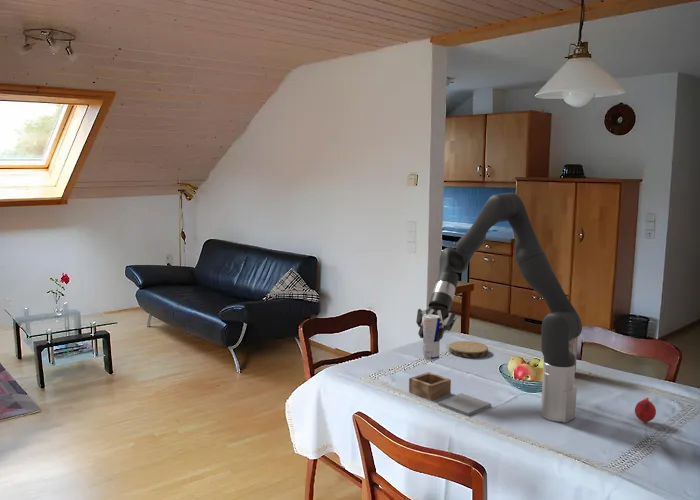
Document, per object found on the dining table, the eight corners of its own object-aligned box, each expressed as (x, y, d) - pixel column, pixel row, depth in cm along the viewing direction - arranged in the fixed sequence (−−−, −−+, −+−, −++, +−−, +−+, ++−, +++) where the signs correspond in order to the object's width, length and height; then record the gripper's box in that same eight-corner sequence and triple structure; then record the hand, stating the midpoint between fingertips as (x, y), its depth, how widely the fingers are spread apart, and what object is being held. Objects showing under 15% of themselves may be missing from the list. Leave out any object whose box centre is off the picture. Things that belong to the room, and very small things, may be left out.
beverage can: (438, 361, 204) (439, 318, 202) (422, 360, 205) (422, 317, 203) (439, 357, 209) (440, 314, 207) (423, 356, 210) (424, 313, 208)
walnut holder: (450, 393, 208) (450, 379, 207) (430, 400, 201) (431, 386, 201) (428, 385, 215) (428, 372, 215) (408, 392, 209) (409, 378, 208)
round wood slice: (479, 361, 244) (479, 354, 244) (442, 354, 253) (443, 347, 253) (493, 351, 258) (493, 344, 257) (458, 345, 266) (458, 339, 266)
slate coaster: (491, 406, 197) (491, 403, 196) (467, 416, 189) (467, 413, 189) (461, 396, 206) (461, 393, 205) (438, 404, 198) (438, 401, 198)
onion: (654, 428, 180) (655, 402, 179) (632, 424, 183) (634, 398, 182) (656, 421, 185) (657, 396, 184) (635, 417, 188) (637, 392, 187)
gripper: (420, 289, 214) (406, 329, 205) (459, 292, 207) (447, 335, 198) (426, 301, 219) (412, 341, 210) (464, 305, 212) (452, 346, 203)
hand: (429, 338), depth 204 cm, fingers closed on beverage can, 5 cm apart
